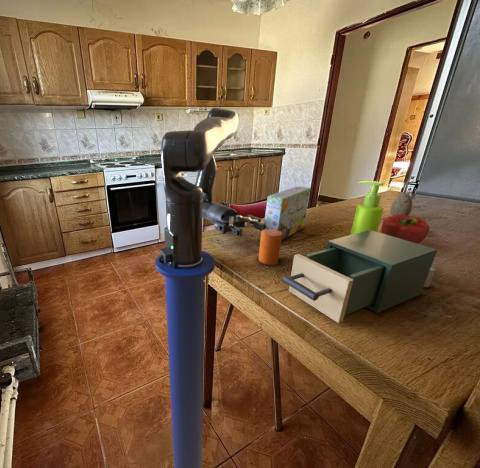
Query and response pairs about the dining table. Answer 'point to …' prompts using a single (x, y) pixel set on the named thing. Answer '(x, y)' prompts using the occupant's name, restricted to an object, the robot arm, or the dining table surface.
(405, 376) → the dining table surface
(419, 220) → the vegetable
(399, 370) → the dining table surface
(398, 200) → the decorative egg
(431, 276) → the lighter
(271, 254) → the spice tin
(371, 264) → the drawer
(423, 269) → the cabinet
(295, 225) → the snack box
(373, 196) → the soap dispenser
